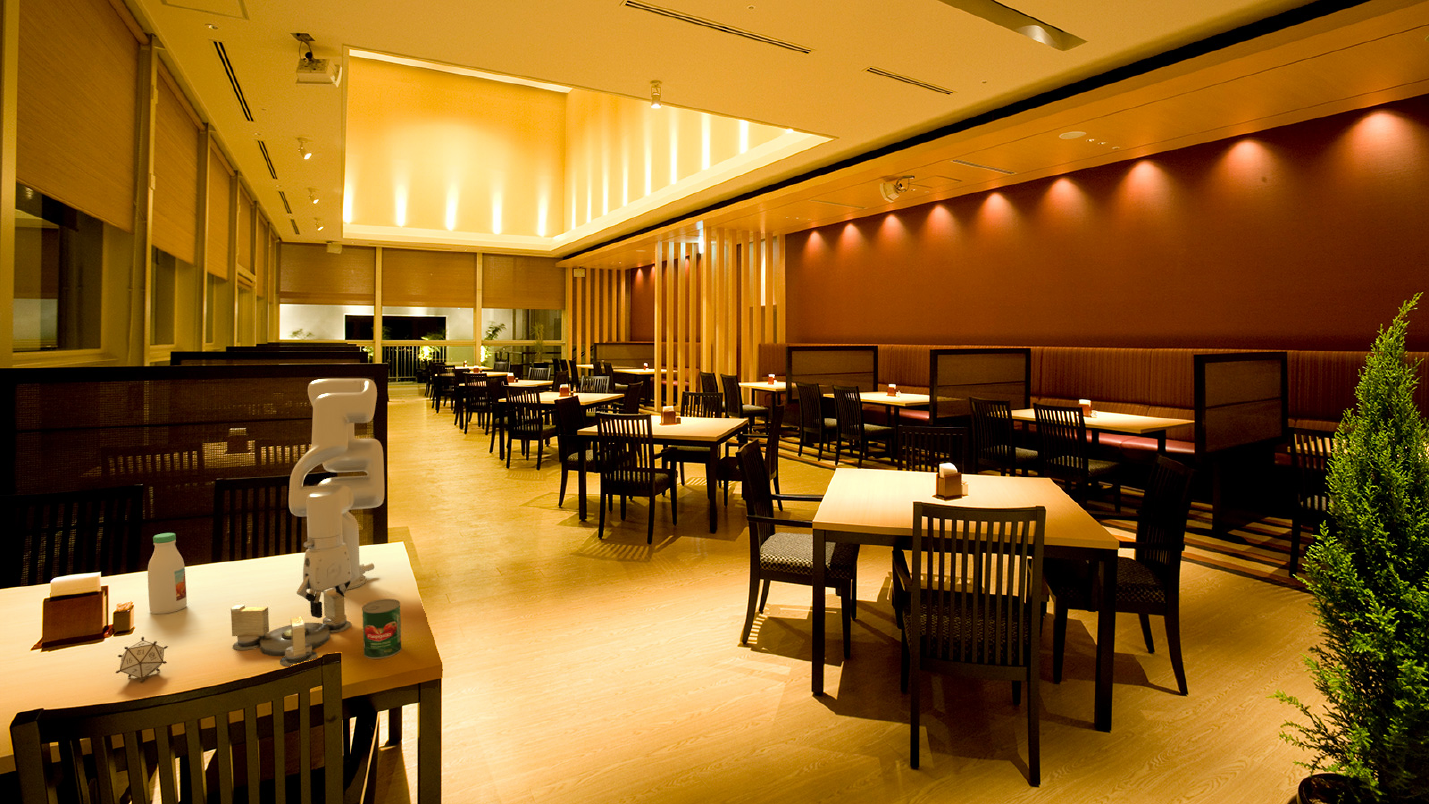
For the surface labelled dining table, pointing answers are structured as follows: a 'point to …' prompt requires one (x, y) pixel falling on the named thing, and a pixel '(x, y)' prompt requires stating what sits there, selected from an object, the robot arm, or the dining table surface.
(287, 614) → the dining table surface
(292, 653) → the knob
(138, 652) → the game die
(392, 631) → the canned tomato
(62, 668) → the dining table surface
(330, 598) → the knob near
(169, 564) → the milk bottle
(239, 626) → the knob
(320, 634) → the plate
